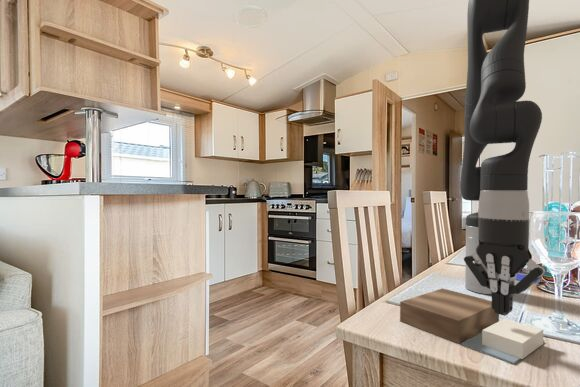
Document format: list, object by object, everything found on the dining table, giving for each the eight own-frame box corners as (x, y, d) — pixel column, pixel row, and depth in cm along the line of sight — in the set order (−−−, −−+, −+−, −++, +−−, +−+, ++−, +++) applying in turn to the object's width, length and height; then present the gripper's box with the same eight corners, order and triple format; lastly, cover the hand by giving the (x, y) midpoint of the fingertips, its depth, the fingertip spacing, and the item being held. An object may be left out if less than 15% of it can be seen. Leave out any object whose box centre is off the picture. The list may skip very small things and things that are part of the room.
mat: (495, 326, 65) (495, 325, 65) (544, 342, 58) (544, 340, 58) (461, 344, 57) (461, 342, 57) (513, 364, 51) (513, 362, 51)
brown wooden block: (442, 305, 77) (442, 288, 77) (498, 322, 67) (499, 302, 67) (400, 321, 68) (400, 301, 67) (458, 343, 58) (458, 320, 58)
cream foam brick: (543, 329, 57) (543, 343, 57) (504, 318, 62) (504, 331, 62) (522, 343, 52) (522, 359, 52) (482, 330, 57) (482, 344, 57)
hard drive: (487, 273, 103) (536, 282, 94) (494, 269, 108) (541, 276, 100) (487, 278, 103) (536, 287, 94) (494, 274, 108) (541, 281, 100)
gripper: (556, 217, 55) (555, 321, 55) (474, 213, 66) (473, 299, 66) (539, 220, 51) (538, 332, 51) (455, 214, 62) (453, 307, 62)
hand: (501, 313), depth 59 cm, fingers closed
